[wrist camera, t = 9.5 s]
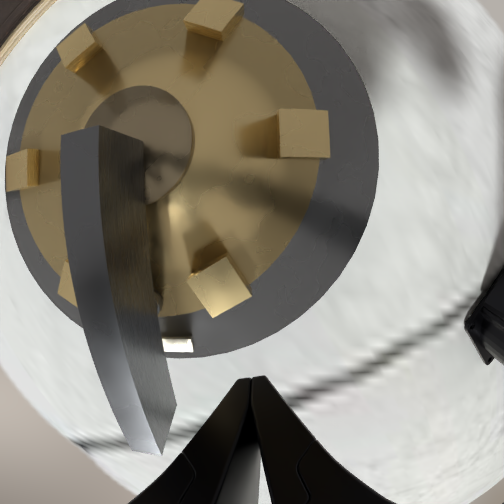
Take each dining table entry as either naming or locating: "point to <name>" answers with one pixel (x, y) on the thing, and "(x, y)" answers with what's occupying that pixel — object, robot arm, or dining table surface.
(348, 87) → the base
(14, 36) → the hardcover book
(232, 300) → the ring nut
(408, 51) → the dining table surface
